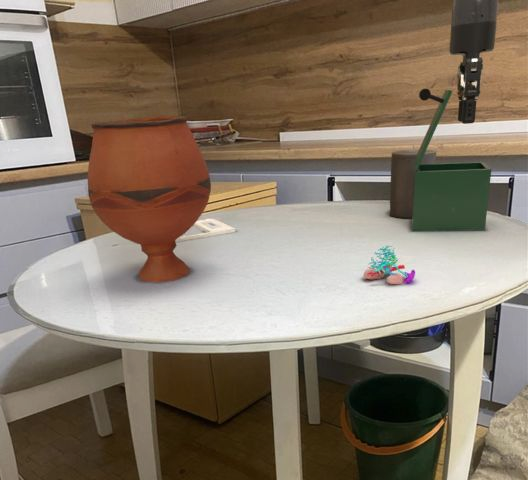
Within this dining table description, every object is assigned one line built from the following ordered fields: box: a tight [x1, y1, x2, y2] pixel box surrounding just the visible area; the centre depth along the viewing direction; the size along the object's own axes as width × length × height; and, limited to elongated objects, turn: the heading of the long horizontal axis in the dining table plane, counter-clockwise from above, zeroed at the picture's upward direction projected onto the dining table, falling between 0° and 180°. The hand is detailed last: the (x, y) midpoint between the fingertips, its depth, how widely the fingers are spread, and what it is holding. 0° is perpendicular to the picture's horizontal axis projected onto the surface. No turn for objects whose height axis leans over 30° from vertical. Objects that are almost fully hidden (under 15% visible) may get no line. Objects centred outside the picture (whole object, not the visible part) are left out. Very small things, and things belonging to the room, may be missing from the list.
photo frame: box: [175, 218, 236, 243], centre depth 120 cm, size 15×1×18 cm
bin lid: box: [414, 88, 453, 170], centre depth 103 cm, size 14×12×5 cm
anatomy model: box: [362, 245, 416, 285], centre depth 80 cm, size 5×8×7 cm
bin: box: [411, 161, 492, 233], centre depth 108 cm, size 14×12×12 cm
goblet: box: [87, 115, 212, 283], centre depth 86 cm, size 19×19×25 cm
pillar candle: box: [388, 145, 437, 219], centre depth 120 cm, size 10×10×15 cm
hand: (465, 122), depth 101 cm, fingers open, 8 cm apart
